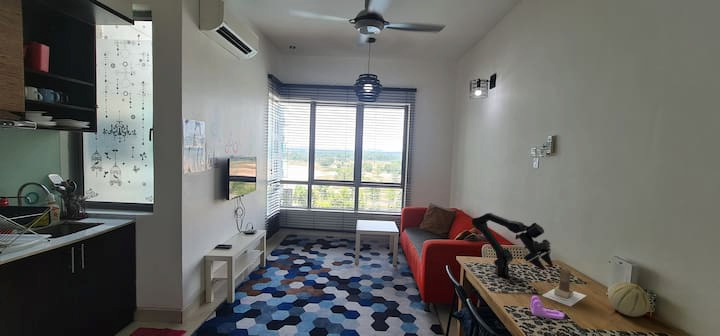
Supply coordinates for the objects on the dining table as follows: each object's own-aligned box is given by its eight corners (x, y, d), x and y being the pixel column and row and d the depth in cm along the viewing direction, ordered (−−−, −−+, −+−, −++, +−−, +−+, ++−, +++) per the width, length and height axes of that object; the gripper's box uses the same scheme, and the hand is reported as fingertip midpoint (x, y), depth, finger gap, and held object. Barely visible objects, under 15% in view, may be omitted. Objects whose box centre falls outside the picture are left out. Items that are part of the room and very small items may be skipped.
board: (570, 308, 149) (570, 306, 148) (541, 297, 159) (541, 295, 159) (586, 297, 160) (586, 295, 160) (558, 287, 171) (558, 286, 171)
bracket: (533, 315, 142) (534, 300, 141) (530, 309, 147) (531, 295, 147) (565, 320, 138) (566, 305, 138) (561, 314, 143) (562, 299, 143)
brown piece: (567, 299, 155) (568, 274, 155) (554, 294, 160) (555, 270, 160) (573, 295, 159) (574, 271, 159) (560, 291, 164) (562, 267, 164)
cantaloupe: (607, 302, 155) (609, 273, 154) (647, 313, 145) (649, 282, 145) (606, 314, 143) (609, 283, 142) (650, 327, 134) (653, 293, 133)
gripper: (531, 238, 163) (552, 265, 155) (548, 232, 174) (568, 257, 166) (516, 248, 170) (535, 274, 162) (533, 242, 181) (552, 266, 173)
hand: (548, 268), depth 166 cm, fingers open, 9 cm apart
